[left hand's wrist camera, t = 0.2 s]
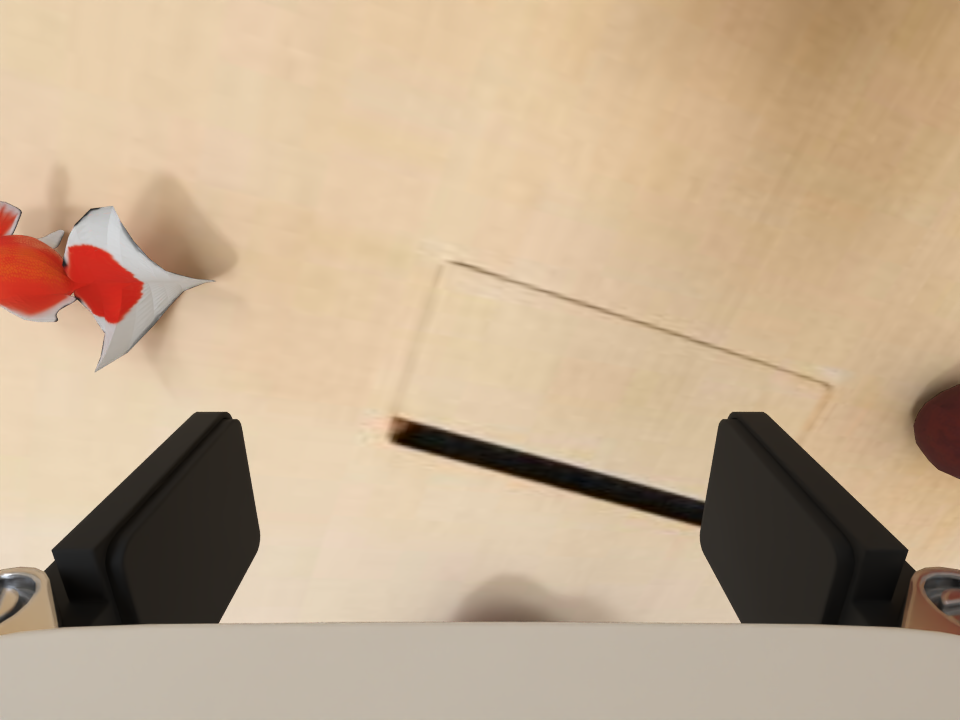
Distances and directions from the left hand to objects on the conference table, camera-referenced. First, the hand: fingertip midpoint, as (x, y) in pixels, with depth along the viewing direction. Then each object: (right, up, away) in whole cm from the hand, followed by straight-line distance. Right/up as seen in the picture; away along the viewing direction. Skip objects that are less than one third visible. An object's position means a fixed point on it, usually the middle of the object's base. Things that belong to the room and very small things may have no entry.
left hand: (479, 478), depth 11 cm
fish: (-26, +9, +30) cm, 41 cm away
